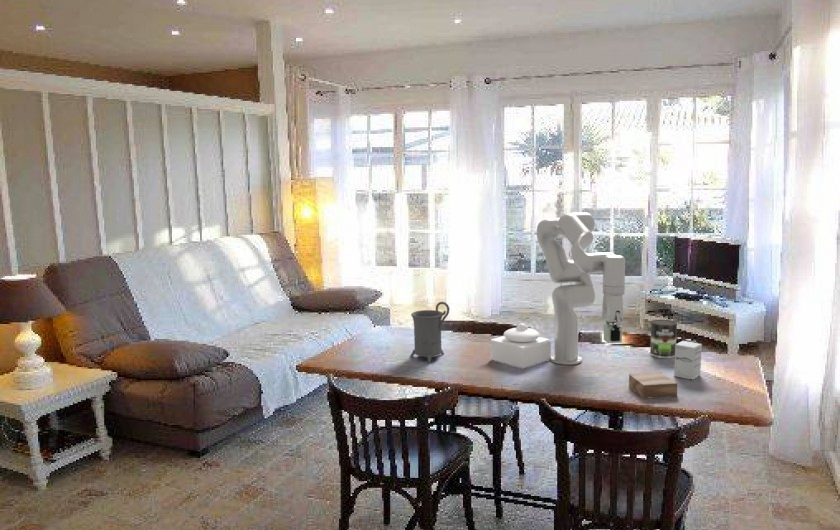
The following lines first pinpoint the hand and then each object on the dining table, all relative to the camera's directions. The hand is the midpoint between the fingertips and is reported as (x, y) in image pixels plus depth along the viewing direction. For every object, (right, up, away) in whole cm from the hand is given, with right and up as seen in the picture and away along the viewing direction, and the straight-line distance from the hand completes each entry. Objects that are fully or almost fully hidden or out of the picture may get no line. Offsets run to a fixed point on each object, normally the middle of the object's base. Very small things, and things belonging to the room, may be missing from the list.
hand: (612, 338), depth 231 cm
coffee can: (+32, -11, +37) cm, 50 cm away
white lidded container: (-28, -13, +36) cm, 47 cm away
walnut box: (+12, -18, -6) cm, 23 cm away
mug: (-66, -13, +41) cm, 79 cm away
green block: (0, -1, 0) cm, 1 cm away
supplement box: (+31, -16, +9) cm, 36 cm away
